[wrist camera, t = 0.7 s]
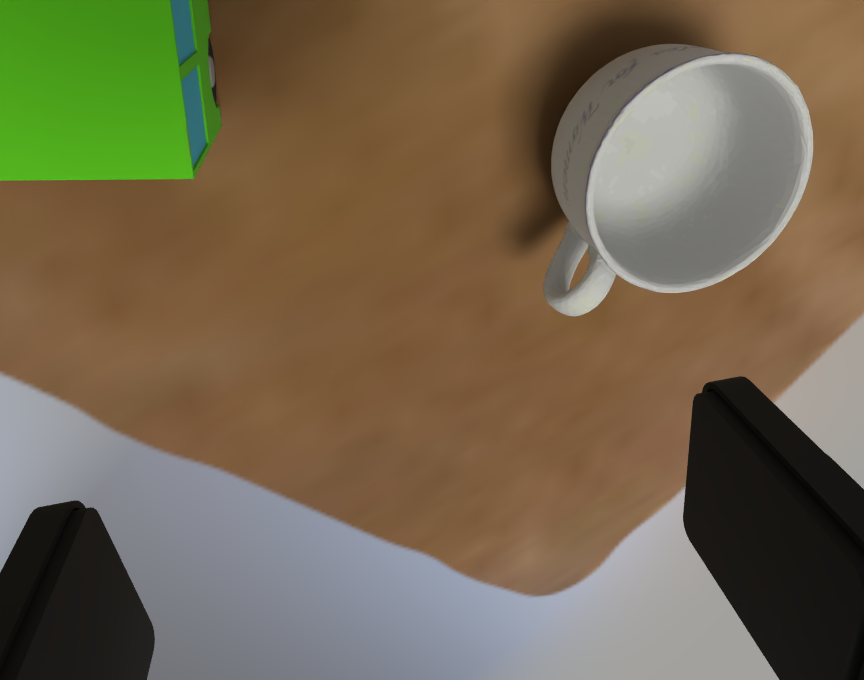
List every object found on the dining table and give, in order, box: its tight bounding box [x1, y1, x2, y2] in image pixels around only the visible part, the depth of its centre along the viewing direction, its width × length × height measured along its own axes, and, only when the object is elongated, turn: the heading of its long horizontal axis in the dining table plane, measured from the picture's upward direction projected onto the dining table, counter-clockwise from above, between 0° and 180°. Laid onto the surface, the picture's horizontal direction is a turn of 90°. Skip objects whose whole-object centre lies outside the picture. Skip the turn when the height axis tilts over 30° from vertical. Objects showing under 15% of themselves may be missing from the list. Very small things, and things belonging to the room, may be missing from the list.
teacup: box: [543, 44, 813, 316], centre depth 34 cm, size 14×11×8 cm
